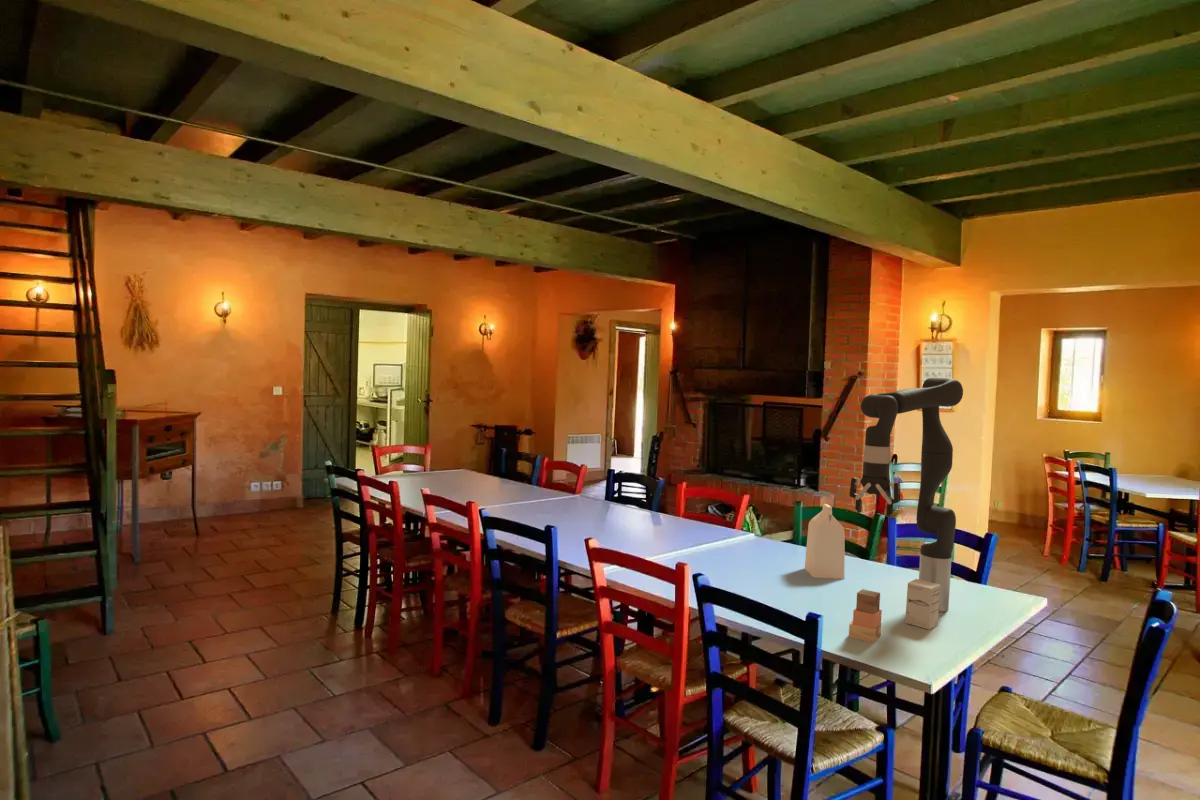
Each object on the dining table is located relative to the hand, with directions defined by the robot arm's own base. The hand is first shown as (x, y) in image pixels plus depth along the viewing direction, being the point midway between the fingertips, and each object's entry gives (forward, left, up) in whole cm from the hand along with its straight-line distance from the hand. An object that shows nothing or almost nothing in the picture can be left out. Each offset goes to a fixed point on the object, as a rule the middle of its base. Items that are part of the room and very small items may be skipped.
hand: (873, 514), depth 211 cm
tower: (+13, +3, -29) cm, 32 cm away
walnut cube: (+13, +3, -25) cm, 29 cm away
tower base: (+13, +3, -33) cm, 36 cm away
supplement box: (-10, +13, -33) cm, 37 cm away
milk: (-44, -29, -33) cm, 62 cm away
